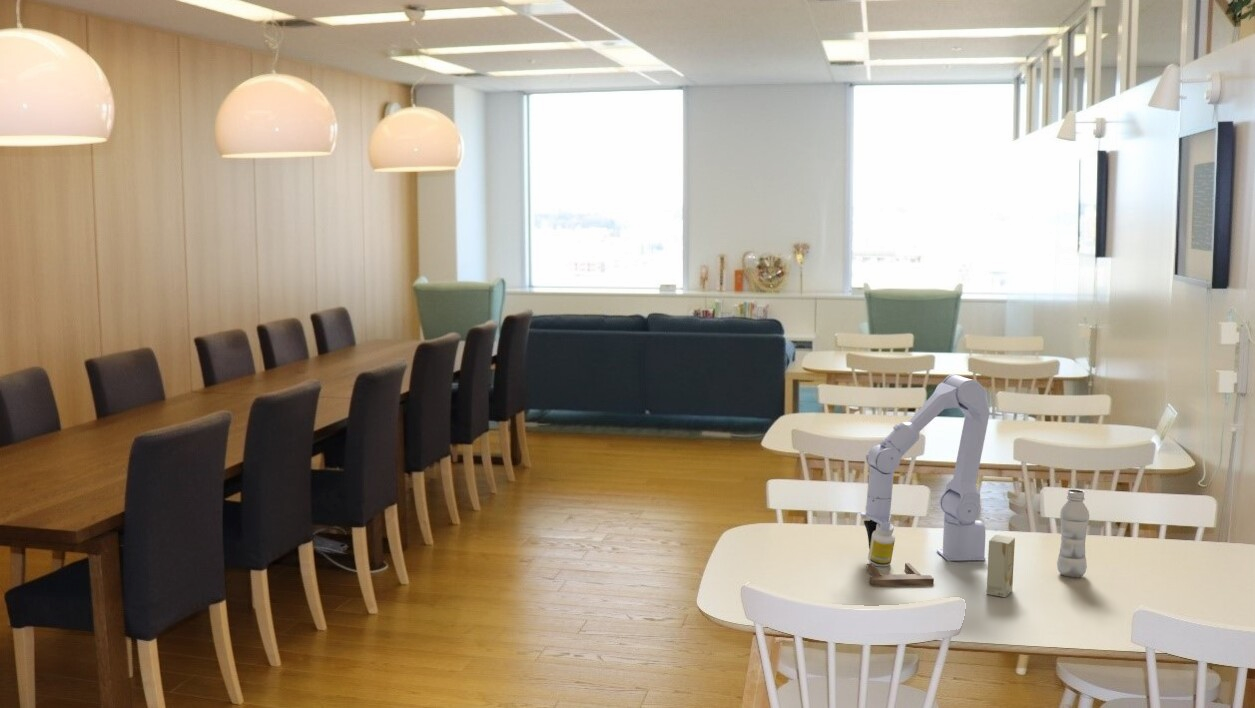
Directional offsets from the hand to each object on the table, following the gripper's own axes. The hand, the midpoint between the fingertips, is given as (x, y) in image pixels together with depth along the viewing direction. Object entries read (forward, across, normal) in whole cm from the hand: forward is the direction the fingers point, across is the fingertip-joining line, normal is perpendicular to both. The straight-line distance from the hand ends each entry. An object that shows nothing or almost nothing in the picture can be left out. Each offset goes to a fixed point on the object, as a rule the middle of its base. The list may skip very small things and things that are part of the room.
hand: (874, 551), depth 280 cm
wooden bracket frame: (+2, +13, +2) cm, 13 cm away
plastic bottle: (0, +13, +43) cm, 45 cm away
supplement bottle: (+2, +2, +1) cm, 3 cm away
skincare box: (+1, +24, +22) cm, 32 cm away
